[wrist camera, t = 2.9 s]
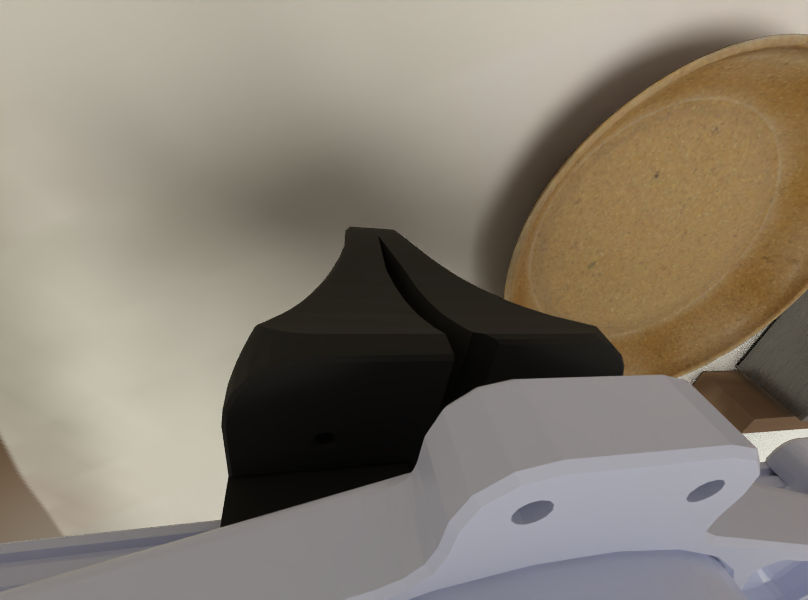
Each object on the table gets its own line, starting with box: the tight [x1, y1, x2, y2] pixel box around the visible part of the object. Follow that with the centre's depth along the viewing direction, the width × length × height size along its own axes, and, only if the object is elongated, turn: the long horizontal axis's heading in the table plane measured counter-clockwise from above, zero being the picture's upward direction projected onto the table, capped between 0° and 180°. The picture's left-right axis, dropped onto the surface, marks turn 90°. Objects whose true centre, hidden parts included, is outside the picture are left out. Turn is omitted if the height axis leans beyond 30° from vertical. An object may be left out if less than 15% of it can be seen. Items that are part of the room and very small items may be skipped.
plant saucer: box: [504, 34, 808, 378], centre depth 17 cm, size 15×15×3 cm
